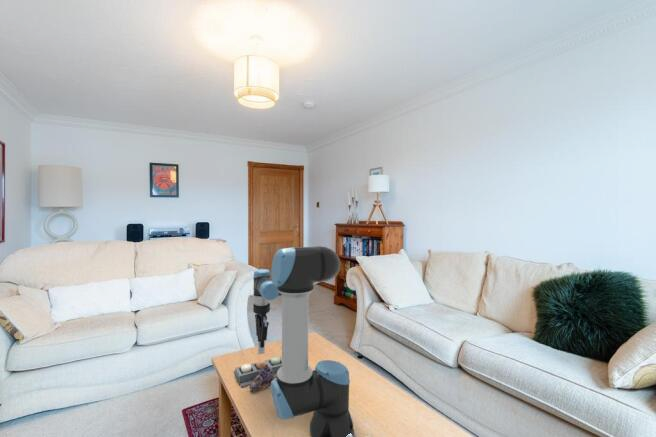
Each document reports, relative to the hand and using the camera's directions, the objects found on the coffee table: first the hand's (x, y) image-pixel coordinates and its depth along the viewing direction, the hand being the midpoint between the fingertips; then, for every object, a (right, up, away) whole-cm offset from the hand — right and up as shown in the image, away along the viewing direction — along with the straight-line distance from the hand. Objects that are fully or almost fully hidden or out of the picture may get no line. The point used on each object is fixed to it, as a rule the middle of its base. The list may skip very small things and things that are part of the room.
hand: (261, 353), depth 141 cm
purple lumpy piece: (+2, -10, -10) cm, 14 cm away
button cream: (-6, -7, -4) cm, 10 cm away
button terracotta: (0, -7, 0) cm, 7 cm away
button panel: (0, -9, 0) cm, 9 cm away
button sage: (+6, -7, +3) cm, 10 cm away
